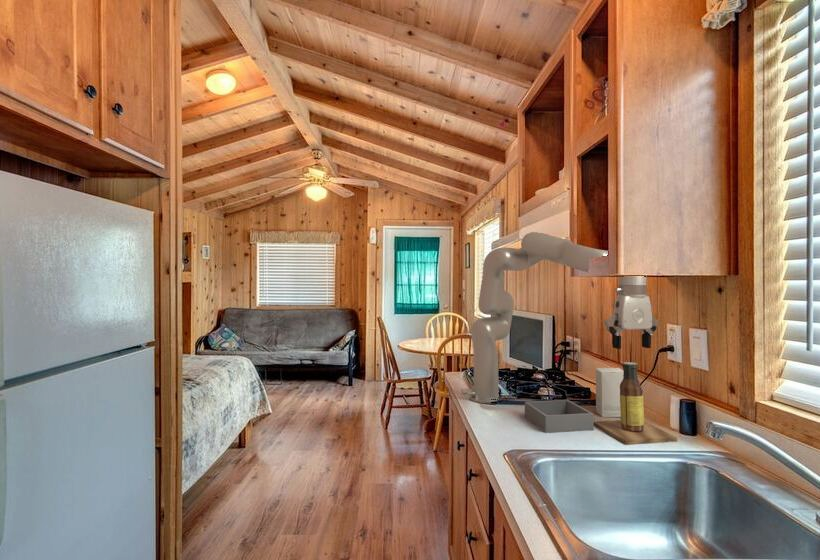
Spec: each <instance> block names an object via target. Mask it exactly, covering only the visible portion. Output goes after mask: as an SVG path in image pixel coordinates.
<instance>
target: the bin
mask: <svg viewBox="0 0 820 560" xmlns="http://www.w3.org/2000/svg"><path fill="white" fill-rule="evenodd" d="M594 415H595V414H594V413H593V412H591V411H589V410H588V409H587V408H584V407H582V406H580V405H578V404H577V403H575V402H573V401H571V400H569V399H558V400H557V399H554V400H552V399H551V400H537V401H536V400H532V401H524V417H525V418H526V419H528V421H530V422H531V423H532V424H534V425H535V426H536V427H538V429H540V430H541V431H542V432H544V433H546V434H548V433H549V434H550V433H566V432H580V431H581V432H583V431H594V429H595V426H594V422H595V421H594V417H595V416H594Z"/></svg>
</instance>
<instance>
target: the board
mask: <svg viewBox="0 0 820 560" xmlns="http://www.w3.org/2000/svg"><path fill="white" fill-rule="evenodd" d="M594 428H597V429H599V430H600V431H601V432H604V433H605V434H607V435H609V436H610V437H612V438H613V439H616V440H617V441H618V442H620V443H622V444H624V445H625V446H628V445H629V446H630V445H643V444H658V442H661V443H669V442H668V441H676V442H678V437H677V436H675V435H674V434H671V433H669V432H668V431H665V430H663V429H661V428H659V427H656V426H655V425H652V424H650V423H648V422H646V421H644V430H643V431H640V432H633V431H628V430H626V429H623V428H622V423H621V419H618V420H615V419H614V420H601V421H598V420H597V421H594Z"/></svg>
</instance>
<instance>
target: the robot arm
mask: <svg viewBox="0 0 820 560" xmlns="http://www.w3.org/2000/svg"><path fill="white" fill-rule="evenodd" d="M520 241H521V242H520V246H521V247H520V248H514V247H498V248H494V249H493V250H491V251H490V252H489V253H488V254H487V255H486V256H485V258H484V261H483V264H482V275H481V276H482V278H481V283H480V290H479V295H478V296H479V297H478V304H477V305H478V310H479V312H480V313H482V314H483V315H489V316H487V317H481V318H478V319H475V320H474V322H473V323H472V325H471V328H470V336H471V340H472V349H473V351H472V352H473V385H472V386H471V387H470V388H468V389H467V388H466V389H465V388H464V389H462V388H461V395H466V396H469V399H470V401H473V402H475V403H481V404H492V403H491V402H494V401H497V399H496V398H498V397H499V350H498V347H497V343H496V341H501V340H504V339H505V338H507V337H508V336H509V333H510V330H511V326H512V319H513V312H514V308H515V307H514V306H515V305H514V298H513V296H512V294H511V293H510V292H509V291H507V290H504V286H505V275H504V272H506V271H510V272H511V271H512V272H513V271H516V272H517V271H518V272H519V271H524V270H527V269H529V268H531V267H533V266H534V265H536V264H538V263H541V261H543V260H546V261H549V262H553V263H556V264H560V265H562V266H566V267H569V268H572V269H575V270H579V271H582V272H586V273H589V272H588V270H589V261H588V260H589V259H592V258H597V257H602V256H607V255H608V251H609V250H605V249H598V248H594V247H589V246H584V245H581V244H577V243H575V242H572V240H570V239H567V238H562V237H560V236H559V237H558V236H553V235H550V234H548V233H543V232H537V231H536V232H535V231H532V232H529V233H526V234H525V235H524V236H523V237H522V239H521V240H520ZM617 279H618V280H617V281H618V283H617V284H618V286H617V287H615V289H614V290H615V292H616V293H617V295H615V296H616V297H615V299H614V300H615V301H614V305H613V315H612V316H610V317H608V318H606V319H605V320H604V325H605V327H606V329H607V331H608V332H609V333H610V335H611V336H612V337H611V340H612V341H611V345H612V348H613V349H616V350H621V349H622V336H621V333H622V332H623V331H624V330H628V331H631V330H632V331H633V330H634V331H635V330H641V331H642V334H641V347H642V348H644V349H651V346H652V336H653V335H654V332H655V331H656V330H657V328H658V325H659V323H660V320H659V319H657V318H656V317H654V316H653V312H652V304H651V300H650V296H649V295H647V276H646V277H644V276H624V277H618V278H617ZM489 399H490V400H489ZM491 399H496V400H491ZM498 400H499V399H498Z"/></svg>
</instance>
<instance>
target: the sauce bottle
mask: <svg viewBox="0 0 820 560" xmlns="http://www.w3.org/2000/svg"><path fill="white" fill-rule="evenodd" d="M622 370H623V373H624V375H623V377H624V378H623V380H622V382H621V384H620V411H621V417H620V420H621V423H622V428H623V429H626V430H628V431H633V432H640V431H643V430H644V422H645V412H644V411H645V409H644V393H643V389H642V386H641V383H640V380H639V377H638V363H636V362H634V361H633V362H631V361H630V362H629V361H624V362H622Z"/></svg>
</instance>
